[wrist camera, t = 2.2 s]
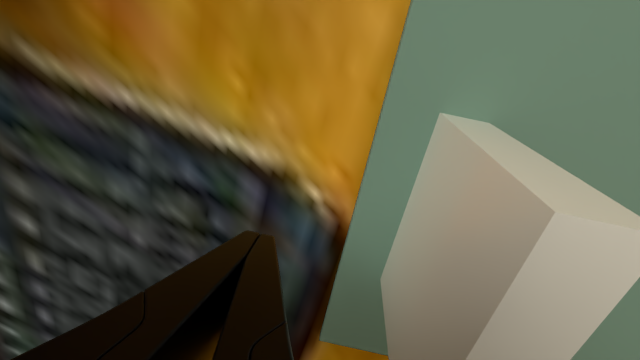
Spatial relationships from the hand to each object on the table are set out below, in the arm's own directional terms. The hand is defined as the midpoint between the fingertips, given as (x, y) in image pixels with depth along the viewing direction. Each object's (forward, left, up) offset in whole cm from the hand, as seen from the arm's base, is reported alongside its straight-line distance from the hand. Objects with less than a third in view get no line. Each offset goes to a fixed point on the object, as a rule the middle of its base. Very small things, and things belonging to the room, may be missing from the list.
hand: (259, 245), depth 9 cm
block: (0, -6, -4) cm, 7 cm away
